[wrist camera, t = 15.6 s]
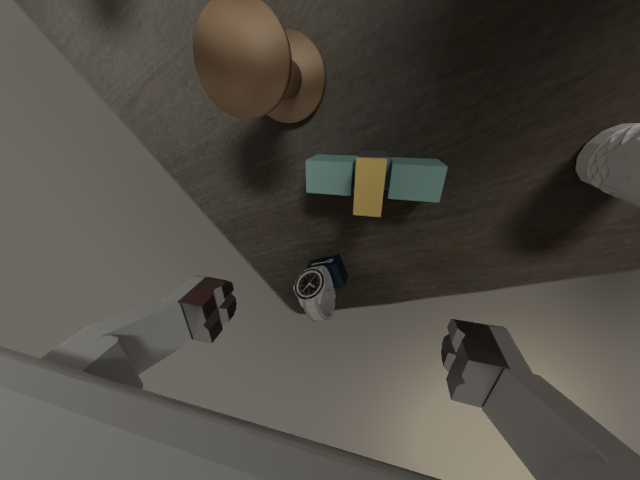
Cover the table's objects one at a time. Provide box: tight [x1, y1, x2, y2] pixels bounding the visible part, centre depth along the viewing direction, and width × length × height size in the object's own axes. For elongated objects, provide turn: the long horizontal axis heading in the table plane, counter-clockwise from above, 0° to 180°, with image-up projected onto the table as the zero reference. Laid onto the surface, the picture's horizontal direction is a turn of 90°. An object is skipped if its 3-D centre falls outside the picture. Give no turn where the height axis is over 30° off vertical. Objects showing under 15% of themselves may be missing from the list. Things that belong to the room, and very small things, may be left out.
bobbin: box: [193, 0, 326, 123], centre depth 26 cm, size 10×10×12 cm
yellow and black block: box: [353, 150, 387, 217], centre depth 28 cm, size 6×3×8 cm, turn 0°
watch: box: [293, 254, 348, 321], centre depth 38 cm, size 6×8×11 cm
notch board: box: [306, 154, 448, 203], centre depth 31 cm, size 4×16×6 cm, turn 90°
